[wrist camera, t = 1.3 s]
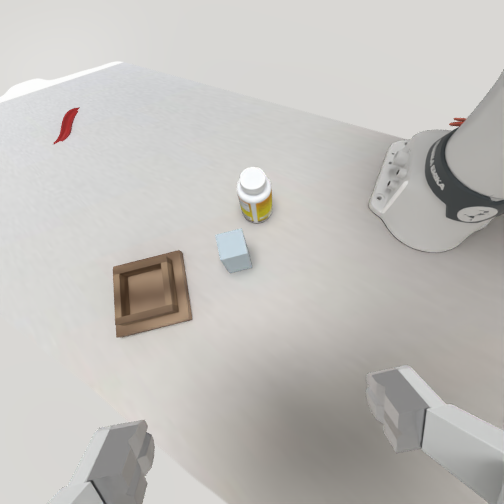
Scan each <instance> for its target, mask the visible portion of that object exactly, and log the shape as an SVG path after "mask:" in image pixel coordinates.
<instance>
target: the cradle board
mask: <svg viewBox="0 0 504 504" xmlns="http://www.w3.org/2000/svg"><path fill="white" fill-rule="evenodd" d="M113 283H114V305H115V325H116V337H125V336H129V335H133V334H137V333H141V332H145V331H149V330H153V329H157V328H161V327H165V326H169V325H173V324H177V323H181V322H185V321H188V320H192V314H191V307H190V300H189V294H188V287H187V280H186V274H185V267H184V260H183V254H182V252H181V251H180V250H178V251H174V252H170V253H166V254H162V255H158V256H154V257H150V258H146V259H143V260H139V261H135V262H131V263H127V264H123V265H119V266H115V267H113Z"/></svg>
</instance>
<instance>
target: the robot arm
mask: <svg viewBox="0 0 504 504" xmlns="http://www.w3.org/2000/svg"><path fill="white" fill-rule="evenodd" d="M454 120H457V121H462V122H453V123H450V124H449V125H451V126H459V127H458V128H456V129H454V130H453V131H451V130H427V131H423V132H420V133H418V134H416V135H414V136H413V137H412V138H411V139H408V140H401V141H398V142H395V143H392V144H391V146H390V147H389V149H388V151H387V154H386V157H385V159H384V162H383V165H382V168H381V171H380V173H379V176H378V179H377V182H376V185H375V187H374V190H373V193H372V196H371V199H370V201H369V208H370V209H371V210H372V211H373V212H374V213H375V214H376V215H378V216H379V217H380V218H381V219H382V220H383V221H384V223H385V224H386V226H387V228H388V229H389V230H390V232H391V233H392V234H393V235H394V236H395V237H396V238H397V239H398V240H400V241H401V242H403V243H404V244H406V245H408V246H410V247H412V248H414V249H417V250H421V251H426V252H443V251H447V250H450V249H453V248H455V247H456V246H458V245H459V244H461V243H462V242H463V241H464V240H465V239H466V238H467V237H468V236H469V235H471V234H472V233H473V232H476V231H478V230H481V229H482V228H484V227H485V226H487V225H488V224H489V221H490V220H492V219H493V218H495V217H496V216H499V215H501V214H504V70H503V72H502V73H501V75H500V77H499V78H498V80H497V81H496V83H495V84H494V86H493V87H492V88H491V89H490V91H489V92H488V93H487V95H486V96H485V97H484V99H483V100H482V101H481V102H480V104H479V105H478V106H477V107H476V108H475V110H474V111H473V112H472V113H471V115H470V116H469V117H468V118H467V119H465V118H454ZM377 198H379V199H380V200H377ZM366 382H367V384H368V385H369V387H368V388H367V389H366V399H367V402H368V406H369V408H370V410H371V412H372V414H373V416H374V417H375V419H376V420H377V421H379V422H380V423H382V424H383V425H384V428H383V432H384V434H385V436H386V437H387V439H388V441H389V442H390V444H391V446H392V447H393V449H394V450H395V452H396V453H400V452H406V451H411V450H416V449H422V451H423V452H425V453H426V454H427V455H428V456H430V457H431V458H432V459H434V460H435V461H436V462H437V463H439V464H440V465H441V466H442V467H444V468H445V469H446V470H448V471H449V472H450V473H451V474H453V475H454V476H455V477H456V478H458V479H459V480H460V481H461V482H463V483H464V484H465V485H467V486H468V487H469V488H470V489H472V490H473V491H474V492H475V493H477V494H478V495H479V496H481V497H482V498H483V499H484V500H486V501H487V502H488V503H489V504H504V430H502V429H500V428H498V427H496V426H494V425H492V424H490V423H488V422H486V421H484V420H482V419H480V418H478V417H476V416H474V415H472V414H470V413H468V412H466V411H464V410H462V409H460V408H458V407H456V406H455V405H453V404H446V403H445V402H444V401H443V400H442V399H441V398H440V397H439V396H438V395H437V394H436V393H435V392H434V391H433V390H432V389H431V388H430V386H429V385H428V384H427V383H426V382H425V381H424V380H423V379H422V378H421V377H420V376H419V375H418V374H417V373H416V372H415V371H414V370H413V369H412V368H411V367H410V366H408V365H404V366H399V367H394V368H388V369H384V370H379V371H375V372H370V373H367V375H366ZM147 428H148V425H147V423H146V421H145V420H140V421H134V422H129V423H123V424H117V425H112V426H107V427H102V428H99V429H98V430H97V431H96V432H95V433H94V435H93V437H92V439H91V441H90V443H89V445H88V447H87V449H86V451H85V453H84V455H83V457H82V459H81V461H80V463H79V464H78V466H77V468H76V470H75V472H74V474H73V476H72V478H71V480H70V482H69V484H68V486H66V487H63V488H61V490H60V491H59V492H58V493H57V494H56V495H55V496H54V497H53V498H52V499H51V500H50V501H49V502H48V503H47V504H142V503H143V499H144V495H145V491H146V487H147V481H146V478H145V476H146V474H147V473H148V471H149V470H150V469H151V467H152V463H153V459H154V448H155V446H154V440H153V437H152V435H151V434H149V433H147V432H146V431H147Z"/></svg>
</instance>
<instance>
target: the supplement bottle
mask: <svg viewBox="0 0 504 504" xmlns="http://www.w3.org/2000/svg"><path fill="white" fill-rule="evenodd" d="M237 194H238V198H239V202H240V205H241V209H242V213H243V215H244V217H245V218H246V219H247V220H248V221H250V222H253V223H260V222H263V221H265V220H267V219H268V218H269V216H270V215H271V212H272V186H271V182H270V180H269V178H268V177H267V176H266V175H265V173H264V171H263V170H262V169H260V168H258V167H249V168H247V169H245V170H244V171H243V172H242V173H241V175H240V178H239V181H238V183H237Z"/></svg>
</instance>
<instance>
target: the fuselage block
mask: <svg viewBox="0 0 504 504" xmlns="http://www.w3.org/2000/svg"><path fill="white" fill-rule="evenodd" d="M215 236H216V241H217V246H218V251H219V256H220V260H221V262H222V263H223V264H224V266H225V267H226V269H227V270H228V271H229V273H233V272H237V271H241V270H245V269H248V268H252V264H251V260H250V256H249V252H248V248H247V245H246V241H245V238H244V235H243V231H242V228H241V229H237V230H233V231H229V232H225V233H221V234H217V235H215Z"/></svg>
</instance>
